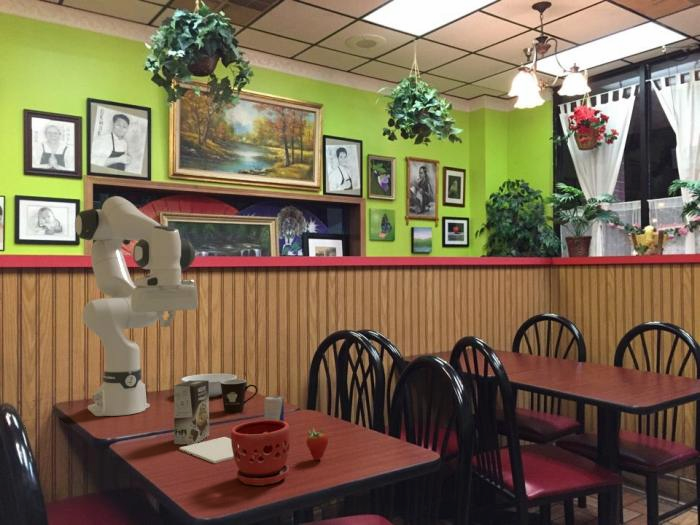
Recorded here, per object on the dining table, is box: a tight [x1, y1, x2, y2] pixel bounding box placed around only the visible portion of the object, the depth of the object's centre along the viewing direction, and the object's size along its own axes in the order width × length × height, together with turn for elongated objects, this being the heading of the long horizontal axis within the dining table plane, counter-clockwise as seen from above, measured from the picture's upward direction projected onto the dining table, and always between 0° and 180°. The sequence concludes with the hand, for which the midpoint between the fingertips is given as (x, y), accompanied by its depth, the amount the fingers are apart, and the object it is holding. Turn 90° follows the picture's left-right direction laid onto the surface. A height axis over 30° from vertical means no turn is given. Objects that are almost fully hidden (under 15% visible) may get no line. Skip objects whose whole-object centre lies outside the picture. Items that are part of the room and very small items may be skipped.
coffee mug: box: [221, 378, 258, 414], centre depth 202 cm, size 12×9×10 cm
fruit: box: [305, 427, 329, 461], centre depth 149 cm, size 5×5×8 cm
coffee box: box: [173, 380, 210, 446], centre depth 168 cm, size 9×6×16 cm
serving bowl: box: [180, 373, 237, 398], centre depth 231 cm, size 21×21×7 cm
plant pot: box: [230, 419, 291, 487], centre depth 135 cm, size 13×13×12 cm
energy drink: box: [263, 395, 285, 433], centre depth 166 cm, size 5×5×12 cm
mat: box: [178, 436, 239, 464], centre depth 158 cm, size 17×14×1 cm
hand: (166, 326), depth 178 cm, fingers closed
